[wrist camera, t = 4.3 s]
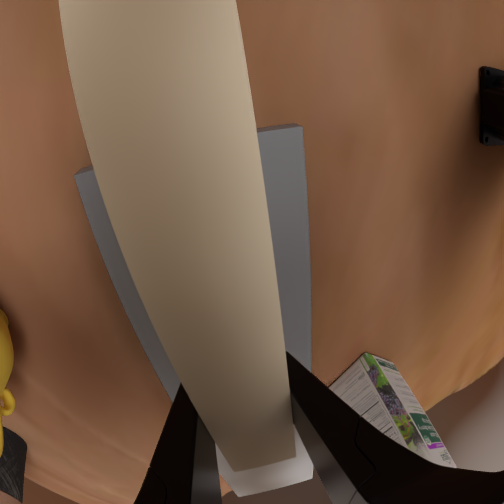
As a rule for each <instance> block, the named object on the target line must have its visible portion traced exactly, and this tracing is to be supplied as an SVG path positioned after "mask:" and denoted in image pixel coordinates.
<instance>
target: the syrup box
mask: <svg viewBox="0 0 504 504" xmlns="http://www.w3.org/2000/svg"><path fill="white" fill-rule="evenodd" d="M329 389H330V390H332V391H333V392H334V393H335V394H336V395H337V396H338V397H340V398H341V399H342V400H343V401H344V402H345V403H347V404H348V405H349V406H350V407H351V408H352V409H354V410H355V411H356V412H357V413H358V414H359V415H360V417H363V418H364V419H366V420H367V421H368V422H369V423H370V424H372V425H373V426H374V427H376V428H377V429H378V430H379V431H381V432H382V433H384V434H385V435H387V436H388V437H390V438H391V439H393V440H394V441H396V442H397V443H399V444H401V445H402V446H404V447H406V448H407V449H409V450H411V451H412V452H414V453H416V454H417V455H419V456H421V457H423V458H424V459H426V460H428V461H430V462H433V463H435V464H438V465H442V466H446V467H453V468H456V465H455V463H454V461H453V460H452V458H451V456H450V455H449V453H448V451H447V449H446V448H445V446H444V444H443V443H442V441H441V439H440V437H439V436H438V434H437V432H436V430H435V429H434V427H433V425H432V424H431V422H430V420H429V419H428V417H427V415H426V414H425V412H424V410H423V409H422V407H421V405H420V404H419V402H418V401H417V399H416V397H415V396H414V394H413V393H412V391H411V389H410V388H409V386H408V385H407V383H406V381H405V380H404V378H403V377H402V376H401V374H400V373H399V371H398V370H397V368H396V367H395V365H394V364H393V363H392V362H391V361H387V360H385V359H383V358H380V357H377V356H374V355H371V354H369V353H364V354H363V355H362V356H361V357H360V358H359V359H358V360H357V361H356V362H355V363H354V364H353V365H352V366H351V367H350V368H349V369H347V370H346V371H345V372H344V373H343V374H342V375H341V376H340V377H339V378H338V379H337V380H336V381H335V382H334V383H333V384H332V385H331V386H330V387H329Z"/></svg>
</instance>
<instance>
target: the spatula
mask: <svg viewBox="0 0 504 504" xmlns="http://www.w3.org/2000/svg"><path fill="white" fill-rule="evenodd" d="M59 7H60V15H61V23H62V30H63V37H64V43H65V50H66V55H67V61H68V66H69V72H70V77H71V82H72V86H73V91H74V96H75V100H76V105H77V109H78V113H79V117H80V121H81V125H82V129H83V133H84V137H85V140H86V144H87V148H88V151H89V155H90V158H91V162H92V165H93V169H94V172H95V175H96V178H97V182H98V185H99V188H100V191H101V194H102V197H103V200H104V203H105V206H106V209H107V212H108V215H109V218H110V221H111V224H112V226H113V229H114V232H115V235H116V237H117V240H118V243H119V245H120V248H121V251H122V253H123V256H124V258H125V261H126V263H127V266H128V269H129V271H130V273H131V276H132V278H133V281H134V283H135V286H136V288H137V290H138V293H139V295H140V297H141V300H142V302H143V304H144V307H145V309H146V311H147V313H148V316H149V318H150V320H151V322H152V324H153V326H154V329H155V331H156V333H157V335H158V337H159V339H160V341H161V343H162V345H163V348H164V350H165V352H166V354H167V356H168V358H169V360H170V362H171V364H172V366H173V368H174V370H175V372H176V373H177V375H178V377H179V379H180V381H181V383H182V385H183V387H184V389H185V391H186V392H187V394H188V396H189V398H190V400H191V402H192V403H193V405H194V407H195V409H196V411H197V412H198V414H199V416H200V418H201V419H202V421H203V423H204V424H205V426H206V428H207V430H208V431H209V433H210V435H211V436H212V438H213V440H214V441H215V446H216V455H217V464H218V472H219V473H220V474H221V476H222V477H223V478H224V480H225V481H226V482H227V483H228V485H229V486H230V487H231V488H232V489H233V491H234V492H235V493H236V494H237V496H238V497H241V496H246V495H251V494H256V493H260V492H264V491H269V490H273V489H276V488H281V487H284V486H288V485H292V484H295V483H299V482H302V481H305V480H308V479H312V478H313V477H312V476H313V463H312V461H311V459H310V457H309V455H308V453H307V451H306V449H305V447H304V445H303V442H302V440H301V438H300V436H299V434H298V432H297V430H296V428H295V426H294V424H293V416H292V407H291V397H290V388H289V379H288V370H287V361H286V352H285V343H284V334H283V326H282V317H281V309H280V301H279V293H278V285H277V277H276V269H275V261H274V253H273V245H272V238H271V230H270V223H269V215H268V208H267V200H266V193H265V186H264V179H263V172H262V165H261V158H260V151H259V144H258V137H257V130H256V124H255V117H254V110H253V104H252V97H251V91H250V84H249V78H248V72H247V65H246V59H245V53H244V47H243V41H242V35H241V29H240V23H239V17H238V11H237V5H236V0H59Z"/></svg>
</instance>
